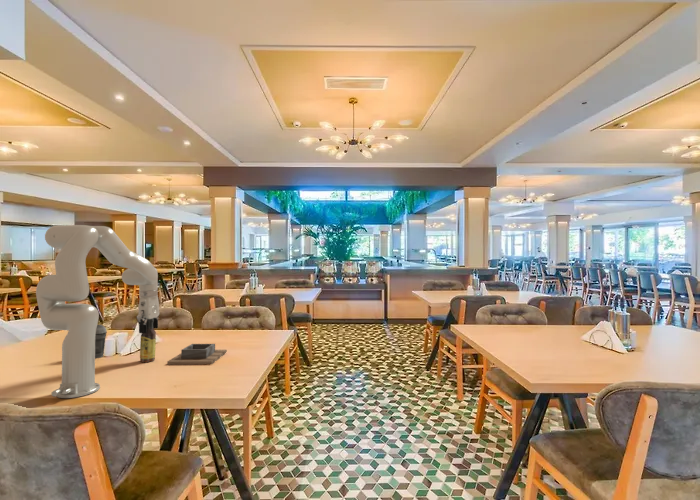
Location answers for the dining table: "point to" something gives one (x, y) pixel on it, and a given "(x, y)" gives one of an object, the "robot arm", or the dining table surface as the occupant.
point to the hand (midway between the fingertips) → (148, 330)
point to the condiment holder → (197, 355)
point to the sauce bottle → (148, 343)
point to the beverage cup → (100, 341)
